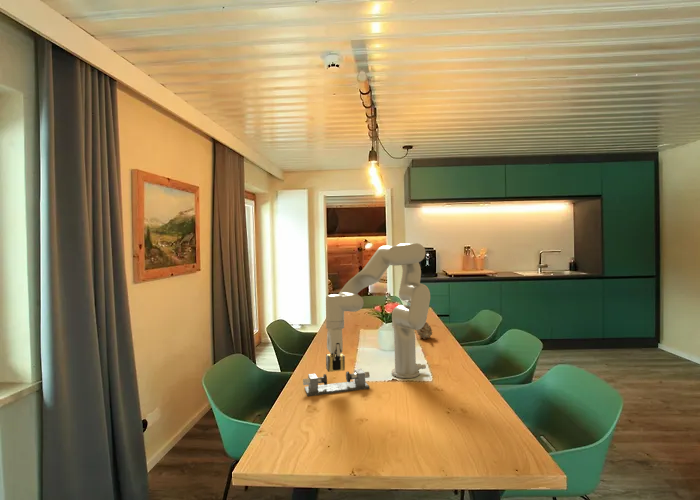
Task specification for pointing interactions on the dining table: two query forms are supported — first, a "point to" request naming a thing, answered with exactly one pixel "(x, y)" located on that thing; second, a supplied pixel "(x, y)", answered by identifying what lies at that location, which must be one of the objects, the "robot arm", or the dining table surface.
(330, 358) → the two-tone brushed block
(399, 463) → the dining table surface
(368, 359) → the dining table surface
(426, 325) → the pine cone
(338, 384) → the shaft stand
